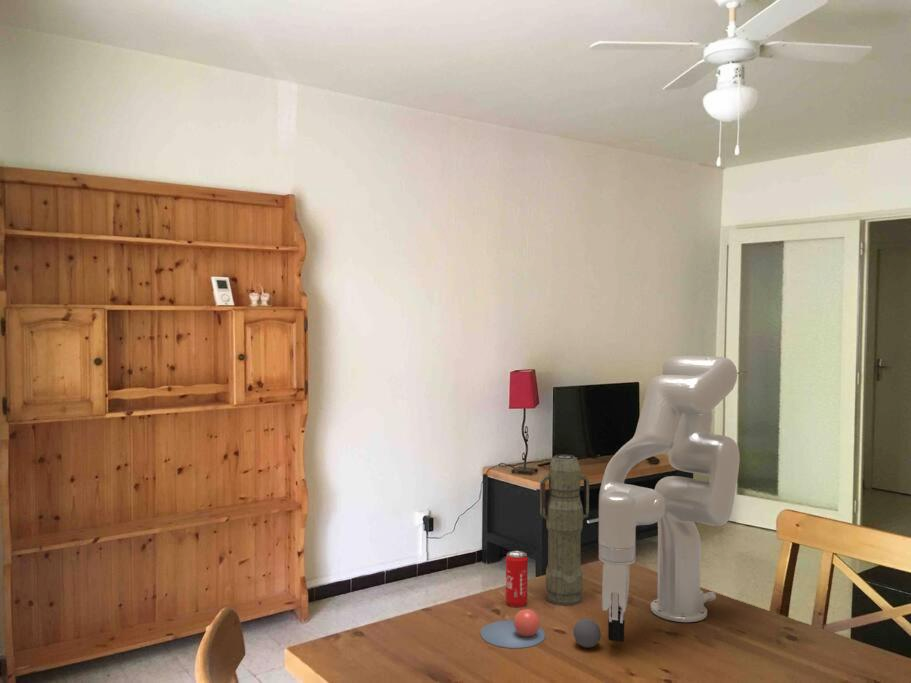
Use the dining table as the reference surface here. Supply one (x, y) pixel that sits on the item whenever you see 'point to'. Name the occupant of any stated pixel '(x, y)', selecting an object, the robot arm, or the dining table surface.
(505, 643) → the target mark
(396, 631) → the dining table surface
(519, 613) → the red ball
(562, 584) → the thermos
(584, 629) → the gray ball
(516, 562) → the beverage can
